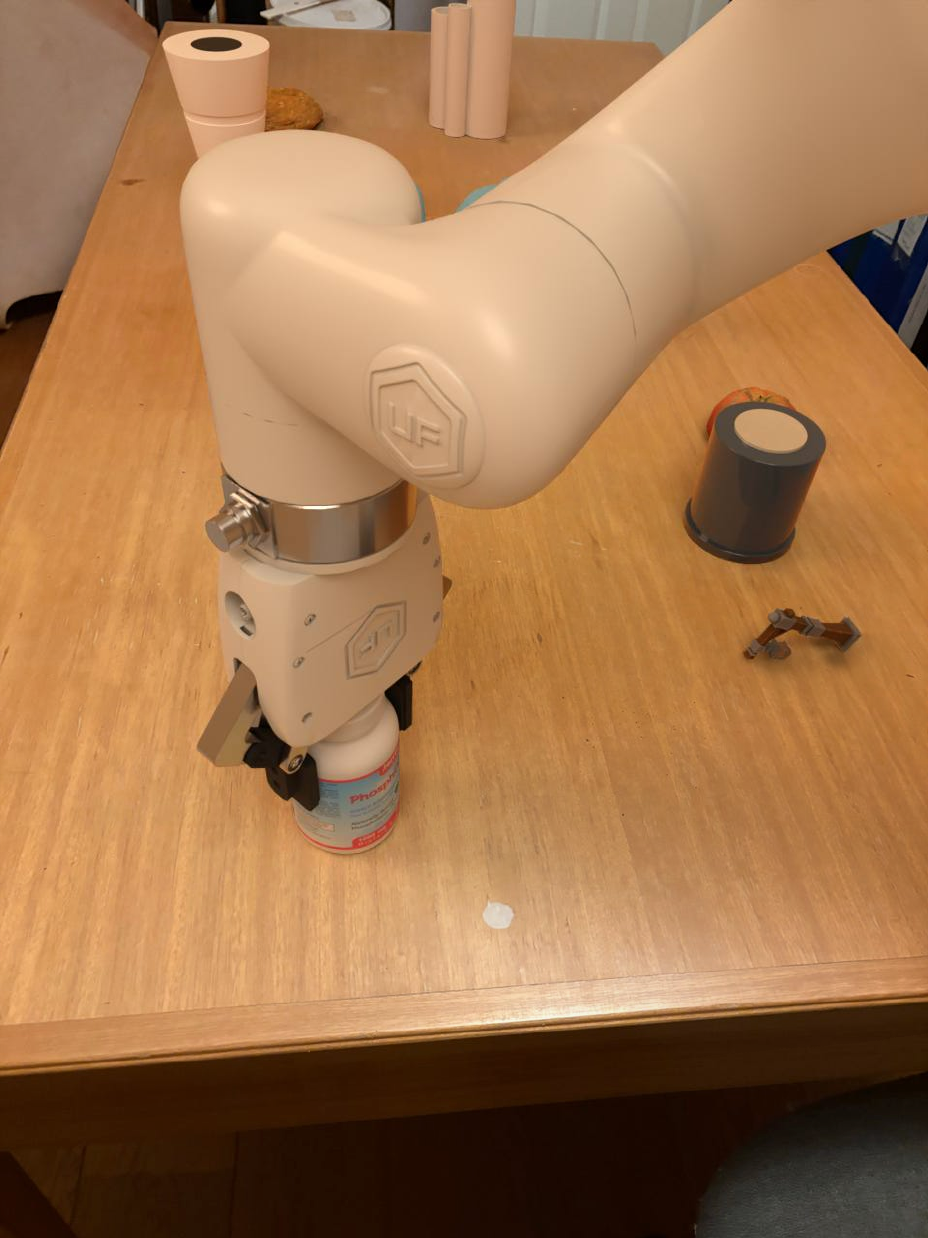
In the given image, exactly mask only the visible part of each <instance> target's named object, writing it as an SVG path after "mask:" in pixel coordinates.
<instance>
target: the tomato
mask: <svg viewBox="0 0 928 1238" xmlns="http://www.w3.org/2000/svg"><path fill="white" fill-rule="evenodd" d="M742 402H767V403H773V404H777V405H781V406H785V407H788V408H790V409H793V410H795V411H797V410H796V408H795V407H794V406H793V404H792V403H791V402H790V399H788V398H787V397H786V396H782V395H781V394H777V393H775V392H773V391H771V390H768V389H761V388H760V387H757V386H755V387H754V386H750V387H745V388H742V389H738V390H734V391H732V392H731V393H729V394H727V395H725V397H723V398H722V399H721V400H720V401H719V402H718V403H716V404H715V406H714V408H713V410H712V411H711V413H710V416H709V417H708V419H707V423H706V426H705V427H706V432H707V434H708V435H707V436H708V439H709V438H710V435H711V431H712V428H713V424H714V421H715V418H716V416H717V415H718V414H719V413H720V412H721V411H722V410H723V409H725V408H726V407H728V406H730V405H733V404H737V403H742Z"/></svg>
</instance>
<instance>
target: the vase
mask: <svg viewBox="0 0 928 1238" xmlns="http://www.w3.org/2000/svg"><path fill="white" fill-rule="evenodd" d="M516 10H517V0H466V3H462V2H461V3H460V2H454V3H449V4H448V5H447V6H436V7H433V8H431V12H430V13H431V14H430V51H429V52H430V54H429V55H430V56H429V57H430V60H429V98H428V99H429V102H428V103H429V104H428V109H429V111H428V124H429V126H431V127H433V128H436V129H441V130H443V134H444V135H445V136H447V137H449V138H462V137H465V135H466V136H468V137H471V138H475V139H480V140H491V139H492V140H494V139H498V138H501V137H504V136H505V135H506V134H507V126H508V113H509V101H510V100H509V99H510V87H511V75H512V74H511V73H512V62H513V48H514V38H515V37H514V36H515V24H516V23H515V22H516ZM432 118H433V119H432ZM443 121H444V122H443Z"/></svg>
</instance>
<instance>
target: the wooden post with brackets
mask: <svg viewBox="0 0 928 1238" xmlns="http://www.w3.org/2000/svg"><path fill="white" fill-rule="evenodd" d="M767 620H768V621H769V622H770V624H769V625H768V626H767V627H766V628H765V629H764V630H763V631H762V632H761V634H760V635H758V637H754V638H753V640H752V641H751V642H750V643H749V644H748V647H747V648H746V649H745V650H744V651H743V655H744V656H745V658H746V660H751V661H753V660H755V658H756V657H758V656H759V655H760V654H762V653H763V652H765V653H766V654H768V656H769V658H771V660H774V659H775V657H776V658H780V659H781V660H782V661H783V660H784V659H785V658H786V657H787V656H789V655H791V653H792V649H791V647H790V646H789V645H788V643H787V642H786V640H783V641H777V639H776V638H778V637H780V636H782V635H784V634H786V633H788V632H790V631H796V632H798V634H799V635H800V636H805V637H811V638H813V639H816V640H817V639H818V638H823V639H825V640H829V641H831V642H833V643H835V644H836V645H837V647H838V648H839V649H840V651H841V652H844V653H847V652H848V651H849V649H851V647H852V646H854V644H855V643H856V642H857V641H859V640H860V638H861V637H862V636H863V633H862V632H861V631H860V629H859V628H858V626H857V625H856V624H855V623H854V621H853V620H852V619H851V618H850V616H844V617H843V618H842V619H841V620H840V621H839V622H823V621H821V620H820V619H819V618H812V617H810V616H808V615H807V616H806V615H803V614H801V615H800V616H798V615H797V614H796V612H795V610H794V609H793V608H790V607H786V608H784V609H782V608H781V609H780V608H778V607H776V608H775V609H774V610H773V611H771V612H770V613H768V615H767Z"/></svg>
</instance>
